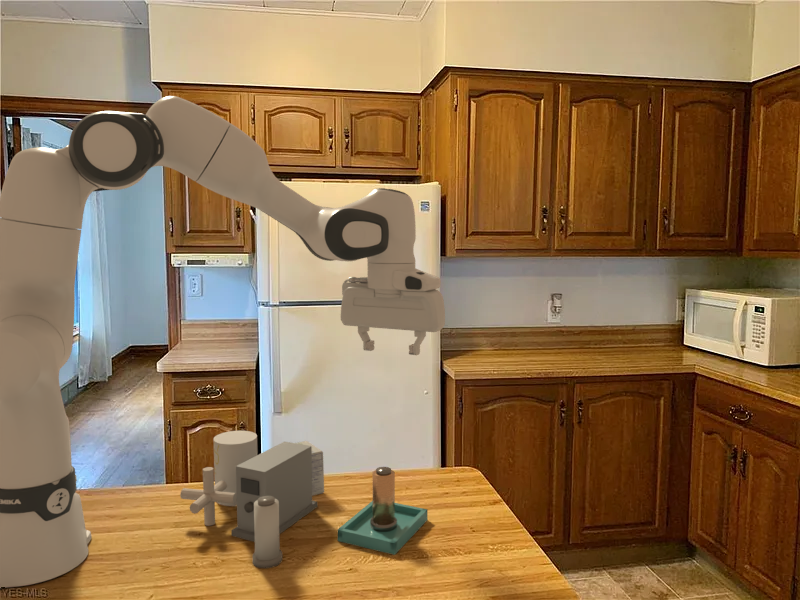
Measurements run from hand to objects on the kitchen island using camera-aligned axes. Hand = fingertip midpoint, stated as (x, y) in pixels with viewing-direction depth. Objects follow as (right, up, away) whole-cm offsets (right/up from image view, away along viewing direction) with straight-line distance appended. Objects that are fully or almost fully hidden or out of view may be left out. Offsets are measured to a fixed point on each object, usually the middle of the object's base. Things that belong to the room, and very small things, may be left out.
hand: (391, 352), depth 119 cm
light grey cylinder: (-30, -29, +5) cm, 42 cm away
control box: (-20, -30, -5) cm, 36 cm away
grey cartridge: (-19, -31, -18) cm, 41 cm away
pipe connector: (-32, -30, -6) cm, 44 cm away
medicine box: (-17, -28, +9) cm, 34 cm away
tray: (-1, -30, -8) cm, 31 cm away
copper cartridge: (-1, -29, -8) cm, 31 cm away
